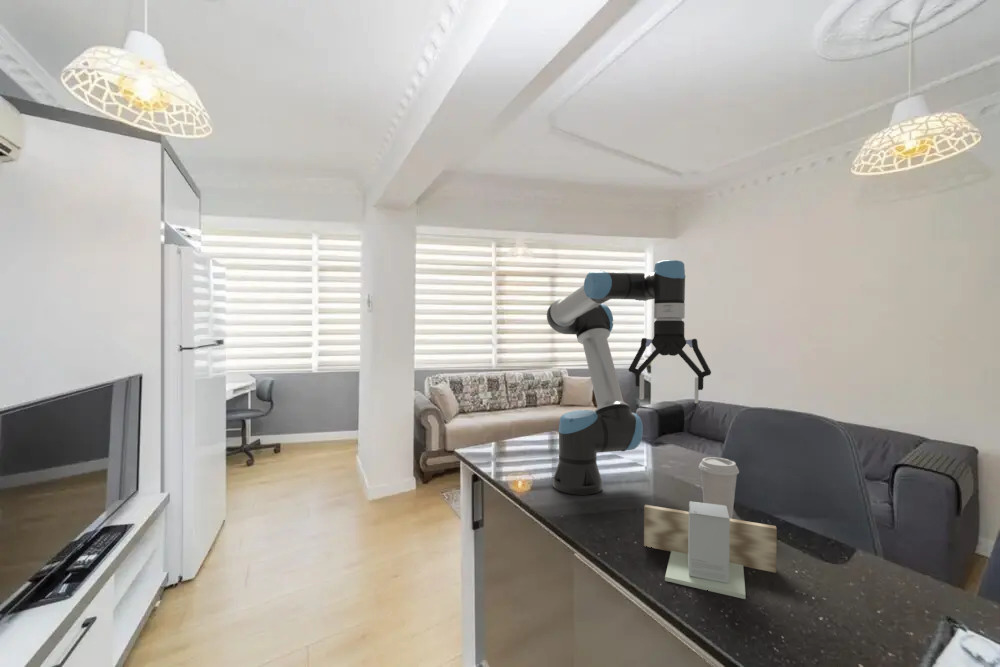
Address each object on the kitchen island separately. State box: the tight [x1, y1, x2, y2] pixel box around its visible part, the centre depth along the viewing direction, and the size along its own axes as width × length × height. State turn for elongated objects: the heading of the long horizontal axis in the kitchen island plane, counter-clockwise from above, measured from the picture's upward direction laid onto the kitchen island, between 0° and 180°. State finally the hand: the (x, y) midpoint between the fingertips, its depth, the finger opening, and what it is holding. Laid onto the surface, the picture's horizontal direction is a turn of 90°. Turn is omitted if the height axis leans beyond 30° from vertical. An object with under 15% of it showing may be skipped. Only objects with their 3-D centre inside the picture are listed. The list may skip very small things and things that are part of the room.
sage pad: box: [664, 551, 746, 600], centre depth 93 cm, size 14×12×1 cm
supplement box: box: [688, 500, 730, 583], centre depth 93 cm, size 7×7×13 cm
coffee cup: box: [698, 456, 740, 519], centre depth 121 cm, size 10×10×15 cm
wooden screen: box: [643, 504, 778, 573], centre depth 100 cm, size 26×2×9 cm, turn 64°
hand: (668, 400), depth 122 cm, fingers open, 13 cm apart
